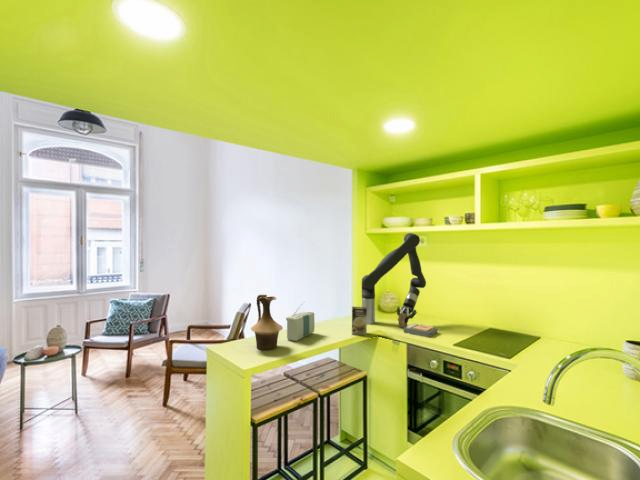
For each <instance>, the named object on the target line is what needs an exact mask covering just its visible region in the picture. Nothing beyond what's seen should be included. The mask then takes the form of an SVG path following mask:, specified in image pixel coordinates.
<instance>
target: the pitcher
mask: <svg viewBox="0 0 640 480" xmlns="http://www.w3.org/2000/svg"><path fill="white" fill-rule="evenodd" d="M275 300H277V297H276V296H268V295H267V294H259V295H257V297H256V306H257V307H256V308H257V313H258V315H257V316H258V319H257V322H256V324H254V325H252V326H251V327H250V330H251V331H252V332H253V333H254V334H255V343H256V346H255V347H256V349H257V350H261V351H271V350H272V351H273V350H275V349H277V348H278V338H279V333H280V332H281V331H282V330H283V328H284V327H283V325H282V324H281V325H280V323H278V322H277V321H275V320H274V318H273V317H272V314H271V310H270V309H271V308H270V307H271V304H272V303H271V302H273V301H275ZM261 304H262V309H261Z"/></svg>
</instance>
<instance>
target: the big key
mask: <svg viewBox="0 0 640 480" xmlns="http://www.w3.org/2000/svg"><path fill="white" fill-rule="evenodd" d="M434 328H435V326H433V325H431V326H430V325H426V324H425V325H424V324H418V326H416V327H413V329H415V330H420V331H425V332H428V331H430V330H432V329H434Z"/></svg>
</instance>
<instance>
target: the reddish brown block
mask: <svg viewBox="0 0 640 480" xmlns="http://www.w3.org/2000/svg"><path fill="white" fill-rule="evenodd" d="M400 313H401V312H400ZM398 317H399V321H398V328H399V329H403V330H404V327H407V326H408V322H407V323H405V322H404V321H405V319H406V317H407V314H403V313H401V314H399V316H398Z"/></svg>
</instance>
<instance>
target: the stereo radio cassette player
mask: <svg viewBox="0 0 640 480" xmlns="http://www.w3.org/2000/svg"><path fill="white" fill-rule="evenodd" d="M303 303H304V302H302V303H301V304H300V305H299V306H298V308H297V309H296V311H295V312H294V313H293V314H292V315H289V316H286V317H285V321H286V338H287V341H293V342H298V341H299V340H301V339H303V338H305V337H307V336H309V335H312V334H313V333H314V332H315V323H316V322H315V312H312V311H303V310H302V311H301V312H298V310H300V308H301V306H302V305H303ZM297 312H298V313H297Z"/></svg>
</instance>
